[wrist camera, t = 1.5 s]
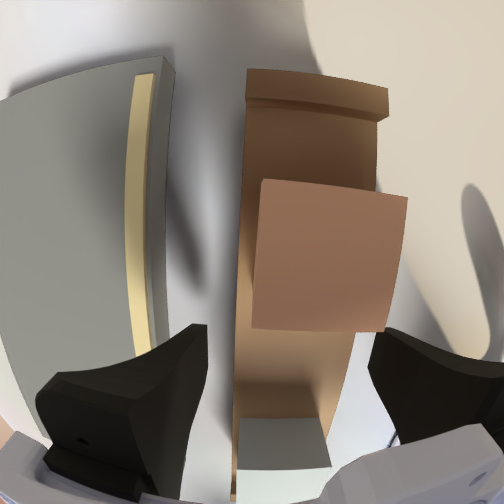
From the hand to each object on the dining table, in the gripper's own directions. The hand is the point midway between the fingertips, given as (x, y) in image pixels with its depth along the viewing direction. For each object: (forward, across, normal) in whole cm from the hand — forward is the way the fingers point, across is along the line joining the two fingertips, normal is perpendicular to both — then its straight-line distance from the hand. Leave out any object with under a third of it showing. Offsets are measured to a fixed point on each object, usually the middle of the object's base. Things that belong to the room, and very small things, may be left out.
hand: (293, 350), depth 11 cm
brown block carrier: (+3, 0, 0) cm, 3 cm away
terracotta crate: (-1, 0, -5) cm, 5 cm away
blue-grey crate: (-1, 0, +5) cm, 5 cm away
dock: (+3, +12, 0) cm, 12 cm away
